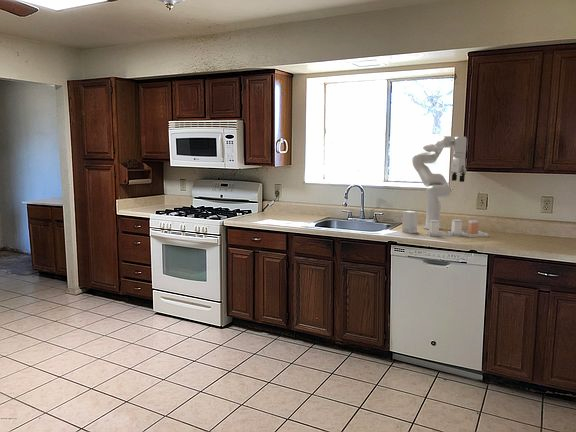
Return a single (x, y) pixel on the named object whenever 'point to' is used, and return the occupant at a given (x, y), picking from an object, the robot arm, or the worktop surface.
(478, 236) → the tray
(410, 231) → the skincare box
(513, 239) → the worktop surface
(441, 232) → the fuse board
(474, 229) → the marked fuse
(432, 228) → the left fuse
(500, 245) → the worktop surface
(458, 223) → the right fuse
